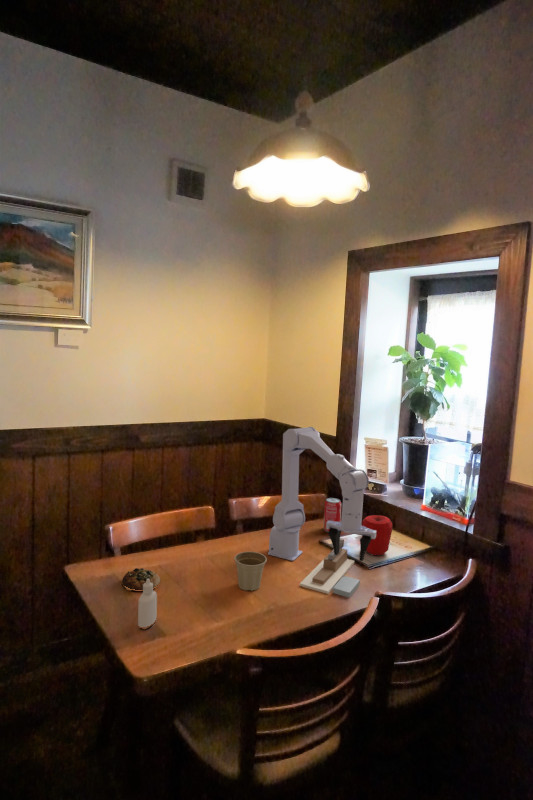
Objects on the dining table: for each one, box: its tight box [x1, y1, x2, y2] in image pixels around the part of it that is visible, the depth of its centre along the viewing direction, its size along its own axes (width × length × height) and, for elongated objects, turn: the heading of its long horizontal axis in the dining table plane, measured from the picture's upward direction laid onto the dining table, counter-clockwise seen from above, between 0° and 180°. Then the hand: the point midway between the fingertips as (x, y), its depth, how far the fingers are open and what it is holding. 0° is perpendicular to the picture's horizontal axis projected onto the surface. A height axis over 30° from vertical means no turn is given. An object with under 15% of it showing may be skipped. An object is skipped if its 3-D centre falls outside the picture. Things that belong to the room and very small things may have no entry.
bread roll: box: [121, 567, 161, 590], centre depth 153 cm, size 11×11×5 cm
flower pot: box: [233, 551, 268, 592], centre depth 154 cm, size 9×9×9 cm
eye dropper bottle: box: [137, 579, 158, 627], centre depth 132 cm, size 4×6×12 cm
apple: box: [361, 514, 393, 556], centre depth 181 cm, size 11×10×14 cm
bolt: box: [327, 537, 345, 560], centre depth 169 cm, size 2×9×4 cm, turn 153°
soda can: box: [322, 497, 343, 533], centre depth 200 cm, size 6×6×12 cm
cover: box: [332, 575, 361, 598], centre depth 156 cm, size 5×9×2 cm, turn 152°
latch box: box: [299, 548, 355, 595], centre depth 164 cm, size 9×24×4 cm, turn 153°
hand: (349, 556), depth 155 cm, fingers open, 7 cm apart
